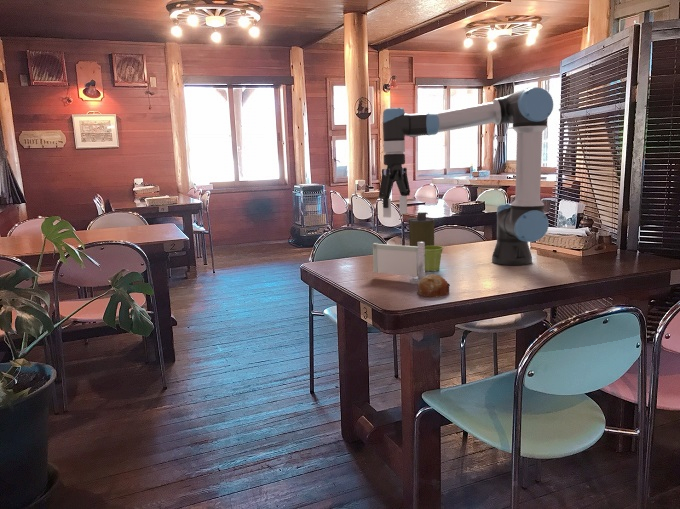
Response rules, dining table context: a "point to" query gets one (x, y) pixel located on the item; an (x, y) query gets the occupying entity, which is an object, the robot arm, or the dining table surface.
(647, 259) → the dining table surface
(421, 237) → the canister
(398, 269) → the gate
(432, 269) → the plant pot
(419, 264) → the gate post
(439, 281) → the bread roll
